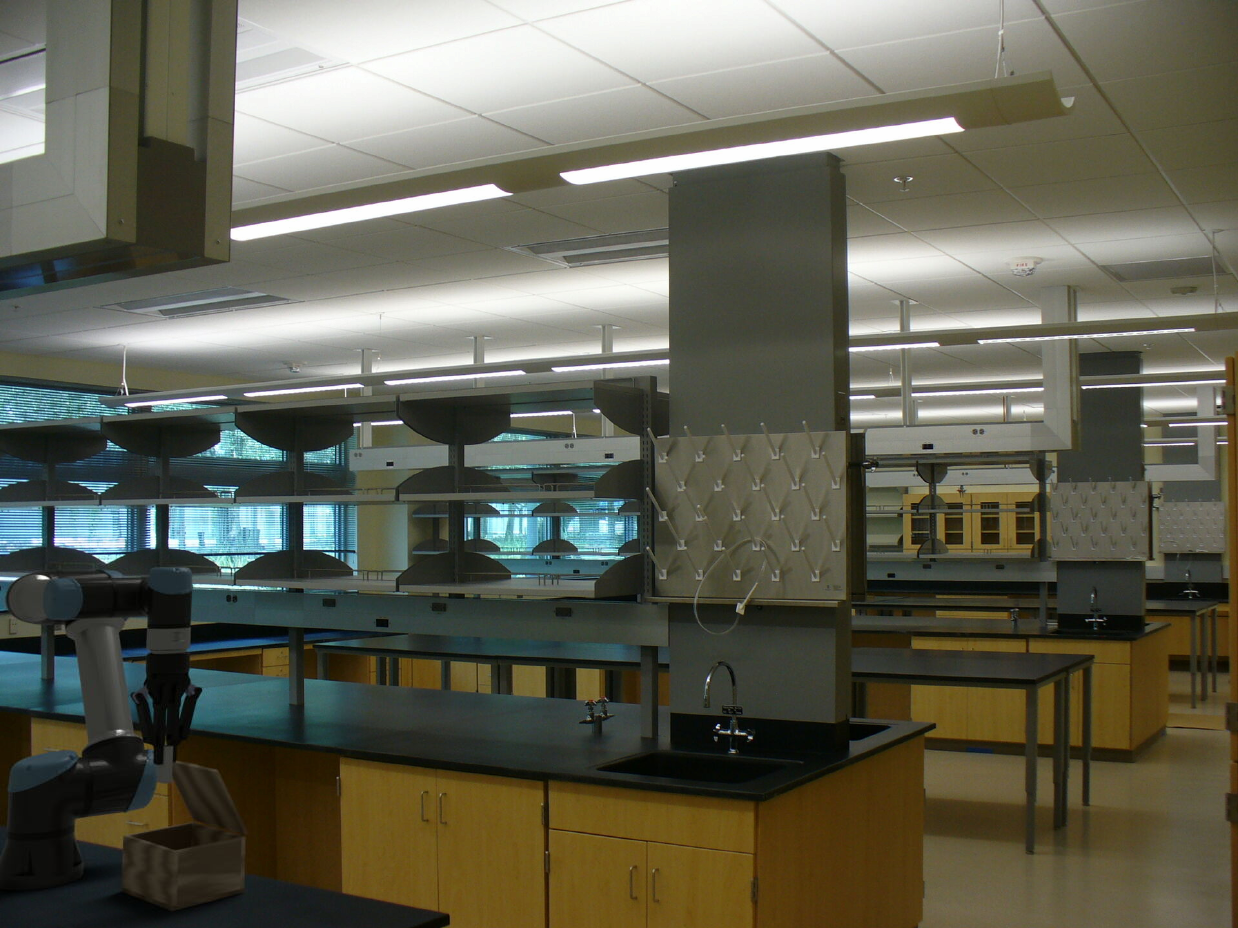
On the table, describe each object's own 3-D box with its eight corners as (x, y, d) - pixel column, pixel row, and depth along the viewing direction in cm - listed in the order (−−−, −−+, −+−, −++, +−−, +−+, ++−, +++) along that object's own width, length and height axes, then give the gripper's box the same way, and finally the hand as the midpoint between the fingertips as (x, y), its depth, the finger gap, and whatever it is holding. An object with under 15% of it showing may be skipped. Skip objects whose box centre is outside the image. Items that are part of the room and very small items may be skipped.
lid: (163, 760, 215) (166, 757, 215) (193, 820, 219) (196, 817, 219) (215, 771, 203) (218, 769, 204) (245, 834, 207) (248, 832, 208)
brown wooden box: (121, 891, 207) (123, 835, 208) (191, 874, 218) (193, 821, 219) (172, 910, 196) (174, 851, 196) (244, 892, 206) (245, 836, 207)
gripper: (144, 654, 200) (139, 790, 198) (211, 650, 210) (208, 779, 208) (123, 652, 204) (119, 784, 203) (191, 647, 214) (187, 774, 212)
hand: (164, 781), depth 205 cm, fingers closed
